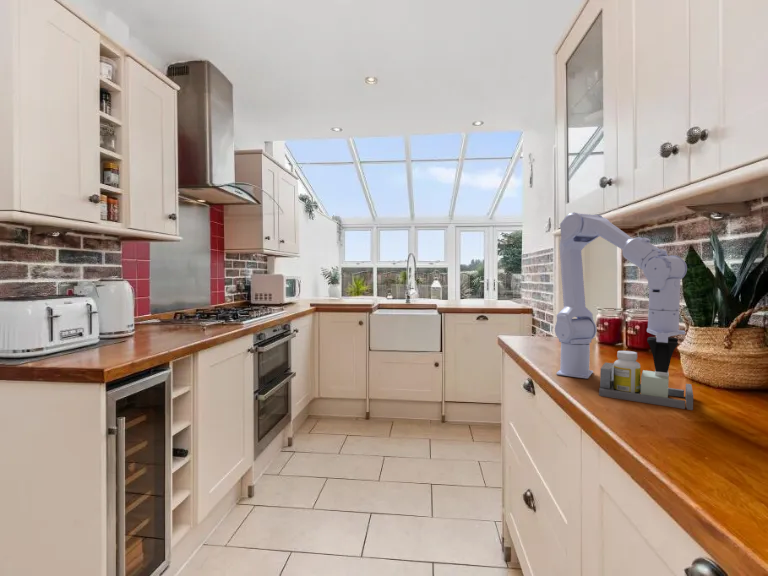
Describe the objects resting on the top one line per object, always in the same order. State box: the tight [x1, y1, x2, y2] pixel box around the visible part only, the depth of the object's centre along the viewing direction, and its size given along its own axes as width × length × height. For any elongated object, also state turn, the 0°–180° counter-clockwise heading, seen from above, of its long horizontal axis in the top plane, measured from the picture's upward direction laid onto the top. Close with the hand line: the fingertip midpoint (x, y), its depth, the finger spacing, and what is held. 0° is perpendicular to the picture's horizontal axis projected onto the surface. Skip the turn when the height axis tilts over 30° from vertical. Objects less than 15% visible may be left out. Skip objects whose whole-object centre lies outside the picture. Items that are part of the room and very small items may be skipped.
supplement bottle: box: [613, 350, 641, 394], centre depth 97 cm, size 5×5×10 cm
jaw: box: [640, 369, 670, 398], centre depth 94 cm, size 7×5×10 cm
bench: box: [598, 362, 694, 411], centre depth 95 cm, size 11×17×6 cm, turn 55°
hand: (661, 370), depth 93 cm, fingers closed on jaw, 2 cm apart
